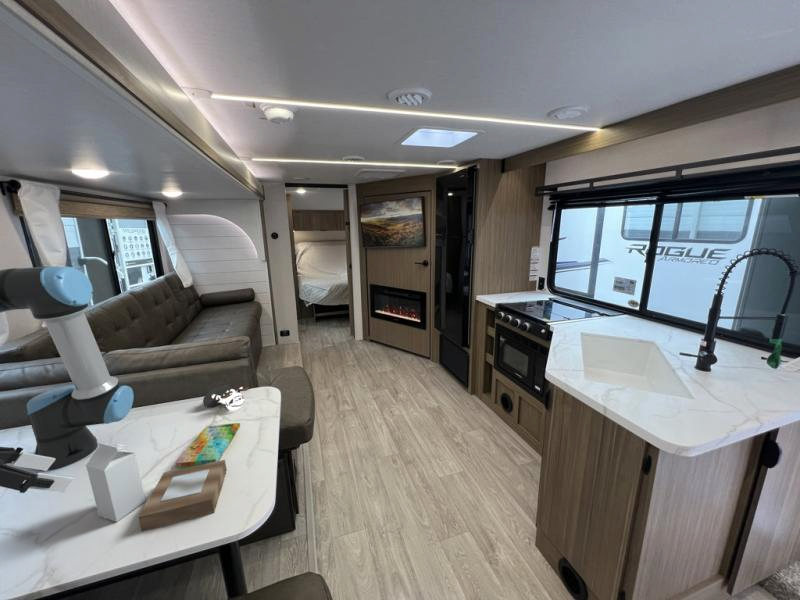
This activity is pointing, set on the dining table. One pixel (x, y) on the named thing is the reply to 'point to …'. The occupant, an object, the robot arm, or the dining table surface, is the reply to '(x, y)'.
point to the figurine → (225, 397)
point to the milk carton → (115, 481)
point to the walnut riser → (184, 495)
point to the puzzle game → (208, 445)
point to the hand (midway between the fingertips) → (59, 474)
